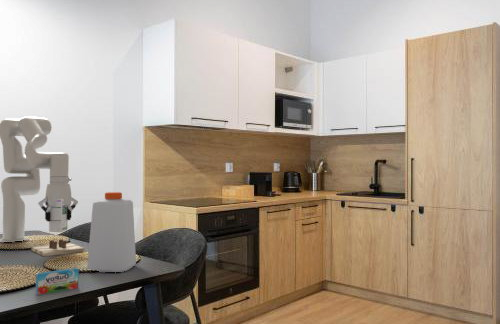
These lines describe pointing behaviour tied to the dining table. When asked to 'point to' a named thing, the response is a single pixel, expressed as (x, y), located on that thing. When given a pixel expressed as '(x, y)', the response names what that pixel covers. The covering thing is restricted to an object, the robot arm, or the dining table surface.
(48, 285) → the yogurt
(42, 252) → the peg stand
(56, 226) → the syrup box
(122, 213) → the plastic bottle
